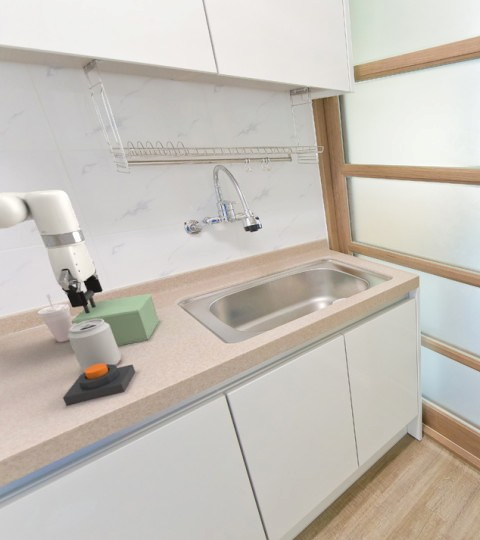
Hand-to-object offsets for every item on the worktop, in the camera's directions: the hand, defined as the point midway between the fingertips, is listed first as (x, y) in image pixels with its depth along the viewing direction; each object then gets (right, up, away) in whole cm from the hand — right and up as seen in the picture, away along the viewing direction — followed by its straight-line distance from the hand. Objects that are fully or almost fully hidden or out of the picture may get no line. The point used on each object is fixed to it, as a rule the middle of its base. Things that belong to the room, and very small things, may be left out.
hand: (88, 299), depth 91 cm
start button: (+19, -15, -17) cm, 30 cm away
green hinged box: (+5, -11, +6) cm, 14 cm away
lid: (+5, -3, +3) cm, 6 cm away
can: (+12, -16, -8) cm, 22 cm away
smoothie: (-12, -12, +6) cm, 18 cm away
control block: (+19, -19, -16) cm, 31 cm away
